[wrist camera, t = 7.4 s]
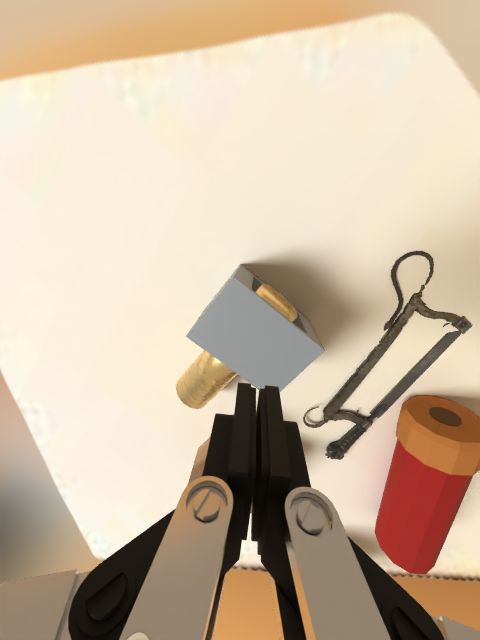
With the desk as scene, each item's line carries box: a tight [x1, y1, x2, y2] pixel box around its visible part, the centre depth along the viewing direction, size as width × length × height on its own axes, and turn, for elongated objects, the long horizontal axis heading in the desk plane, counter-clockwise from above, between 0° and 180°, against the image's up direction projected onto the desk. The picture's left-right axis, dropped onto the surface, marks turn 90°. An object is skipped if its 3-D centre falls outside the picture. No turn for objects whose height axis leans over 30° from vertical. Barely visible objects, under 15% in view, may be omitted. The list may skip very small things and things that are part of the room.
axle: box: [176, 284, 298, 409], centre depth 24 cm, size 14×4×4 cm, turn 142°
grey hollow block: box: [186, 264, 325, 392], centre depth 22 cm, size 6×9×7 cm
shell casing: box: [375, 396, 480, 574], centre depth 27 cm, size 7×20×7 cm, turn 2°
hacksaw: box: [303, 251, 472, 460], centre depth 26 cm, size 24×10×2 cm, turn 150°
